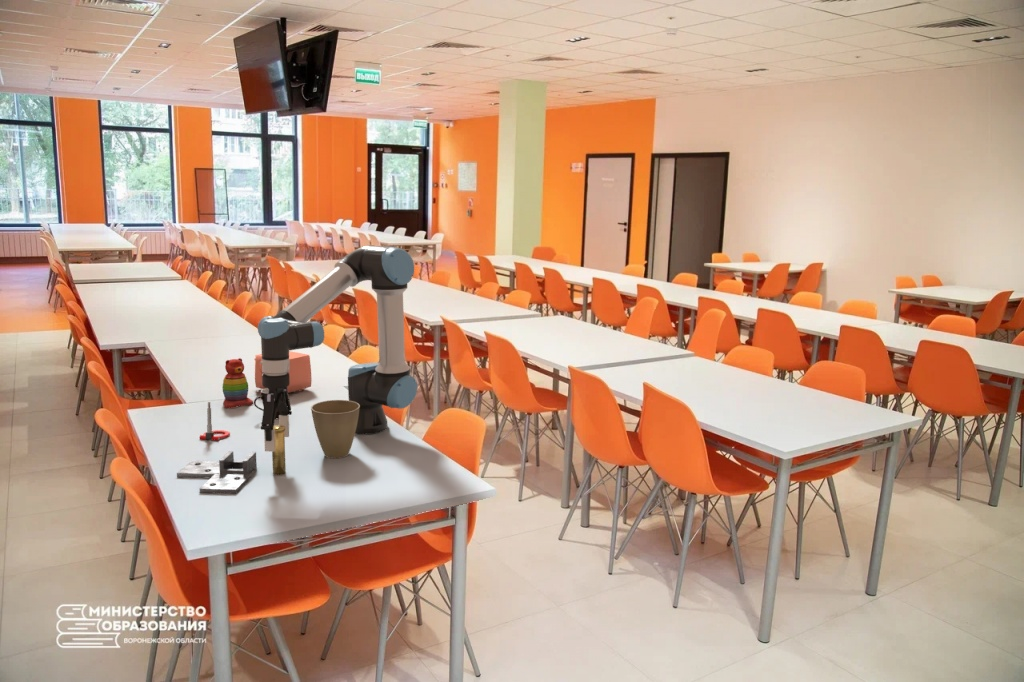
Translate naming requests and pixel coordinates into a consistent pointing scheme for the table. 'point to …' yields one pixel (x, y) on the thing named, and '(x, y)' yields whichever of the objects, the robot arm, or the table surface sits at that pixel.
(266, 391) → the coffee mug
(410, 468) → the table surface
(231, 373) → the stacking bear
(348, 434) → the plant pot
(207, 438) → the tow hook
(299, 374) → the teapot
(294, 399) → the table surface
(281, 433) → the brass hinge pin
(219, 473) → the hinge leaves
